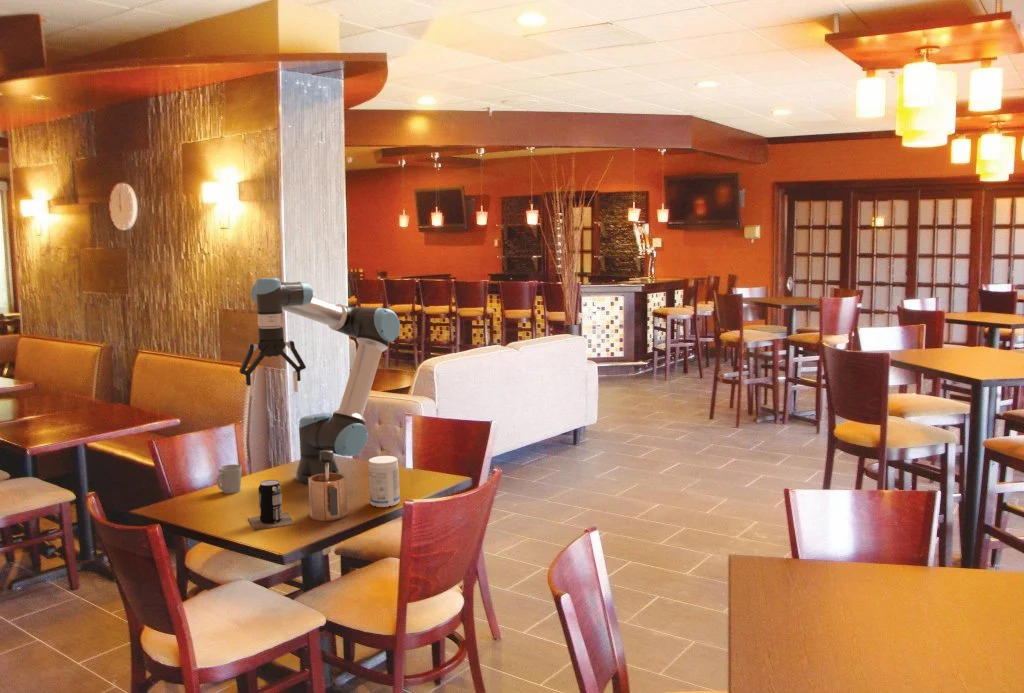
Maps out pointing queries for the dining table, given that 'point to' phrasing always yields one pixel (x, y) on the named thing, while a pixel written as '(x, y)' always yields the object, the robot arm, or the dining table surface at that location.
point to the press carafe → (328, 497)
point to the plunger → (326, 460)
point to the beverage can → (270, 501)
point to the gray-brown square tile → (259, 525)
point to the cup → (229, 478)
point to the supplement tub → (384, 481)
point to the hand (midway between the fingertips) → (274, 393)
